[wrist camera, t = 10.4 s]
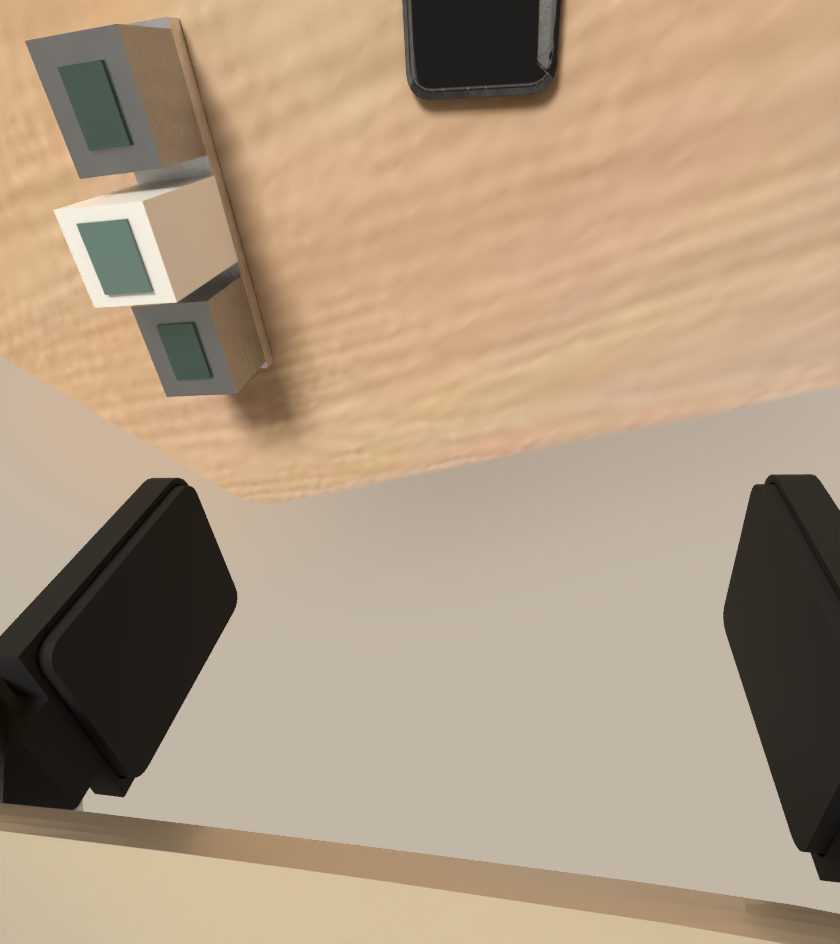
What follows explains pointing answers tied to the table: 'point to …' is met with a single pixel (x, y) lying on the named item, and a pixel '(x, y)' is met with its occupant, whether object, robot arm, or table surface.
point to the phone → (480, 47)
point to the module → (149, 241)
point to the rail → (156, 159)
